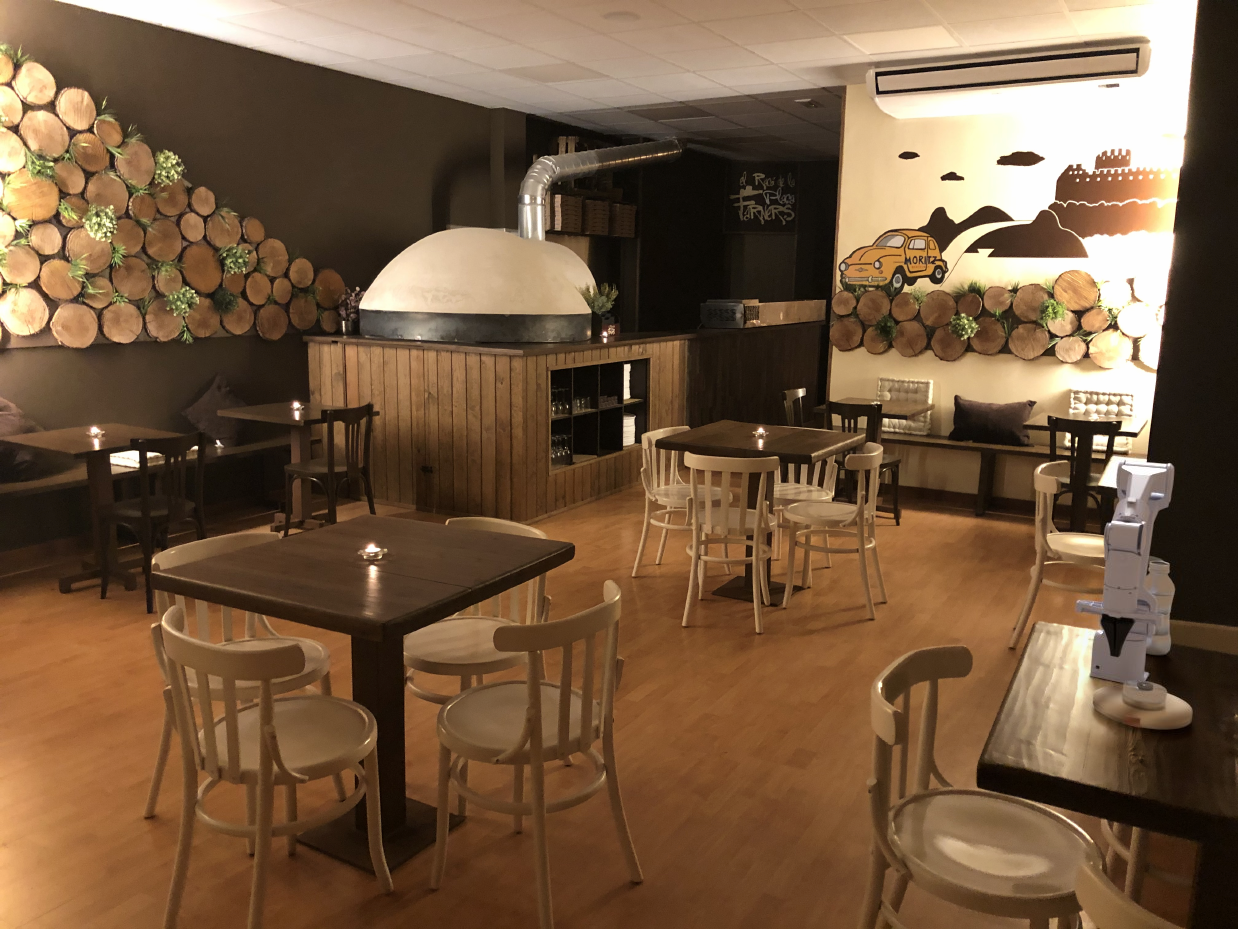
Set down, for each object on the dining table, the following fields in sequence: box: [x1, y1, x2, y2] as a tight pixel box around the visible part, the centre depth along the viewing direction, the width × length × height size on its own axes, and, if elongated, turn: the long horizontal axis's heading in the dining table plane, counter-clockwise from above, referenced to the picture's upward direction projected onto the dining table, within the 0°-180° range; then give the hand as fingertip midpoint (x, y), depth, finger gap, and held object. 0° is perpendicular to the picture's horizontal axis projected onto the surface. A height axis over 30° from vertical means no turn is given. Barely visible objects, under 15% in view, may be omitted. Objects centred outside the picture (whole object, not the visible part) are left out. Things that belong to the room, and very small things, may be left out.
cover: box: [1122, 680, 1168, 711], centre depth 177 cm, size 7×7×4 cm
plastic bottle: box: [1145, 561, 1176, 656], centre depth 207 cm, size 6×7×20 cm
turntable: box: [1092, 684, 1194, 730], centre depth 177 cm, size 16×16×2 cm
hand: (1115, 655), depth 182 cm, fingers closed
